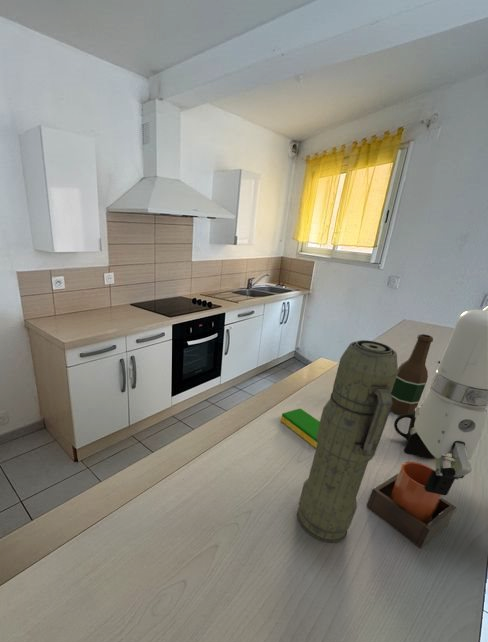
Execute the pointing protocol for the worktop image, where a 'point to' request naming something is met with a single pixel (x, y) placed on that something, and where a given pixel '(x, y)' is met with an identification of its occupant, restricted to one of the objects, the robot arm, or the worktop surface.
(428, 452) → the mug
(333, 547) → the worktop surface
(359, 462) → the thermos
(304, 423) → the dish sponge
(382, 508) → the brown rectangular open box
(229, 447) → the worktop surface
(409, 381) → the beer bottle
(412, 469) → the cup
